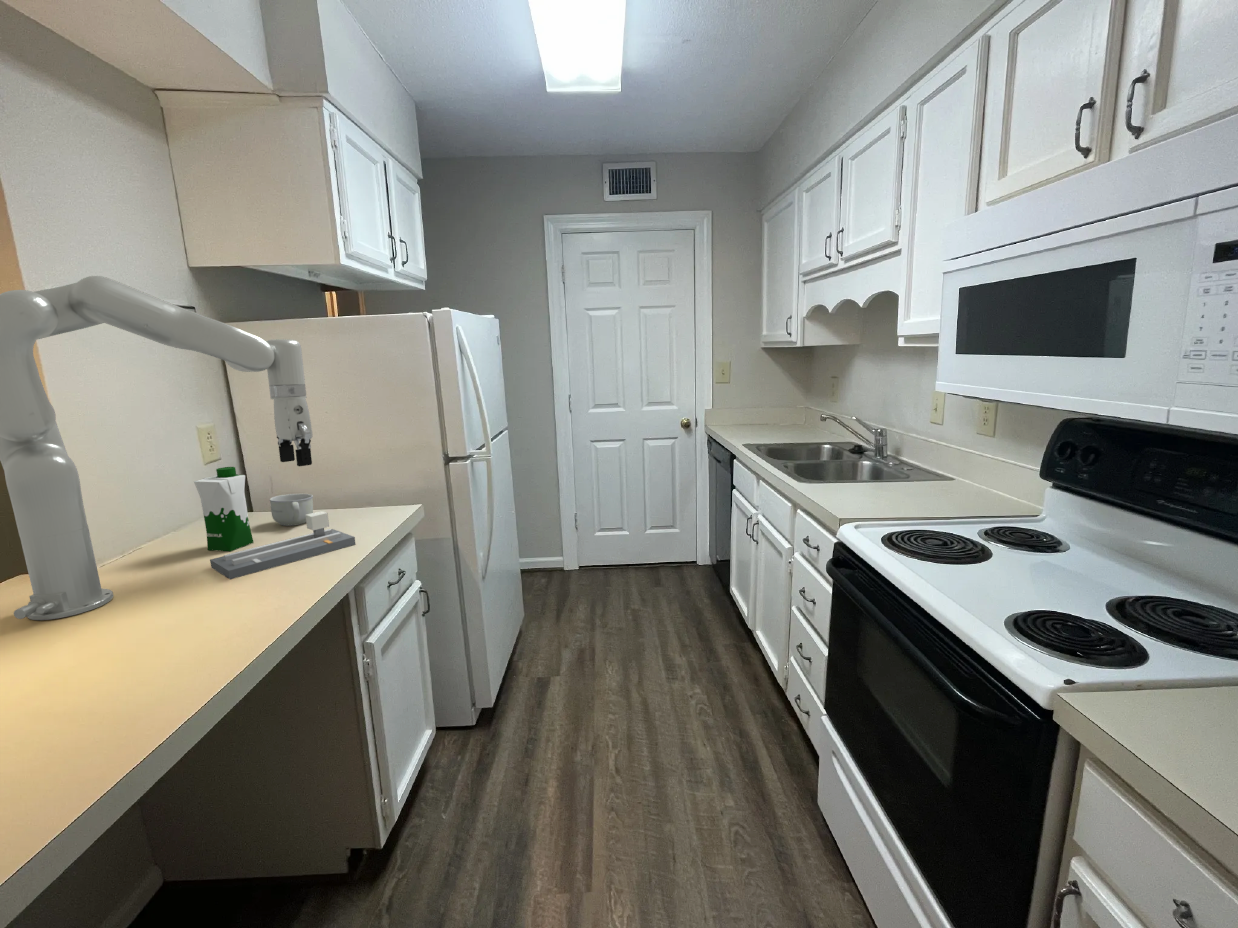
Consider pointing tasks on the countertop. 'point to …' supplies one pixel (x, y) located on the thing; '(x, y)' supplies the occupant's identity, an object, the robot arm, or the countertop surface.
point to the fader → (317, 523)
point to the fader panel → (279, 553)
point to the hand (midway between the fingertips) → (296, 463)
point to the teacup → (291, 508)
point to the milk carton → (225, 510)
